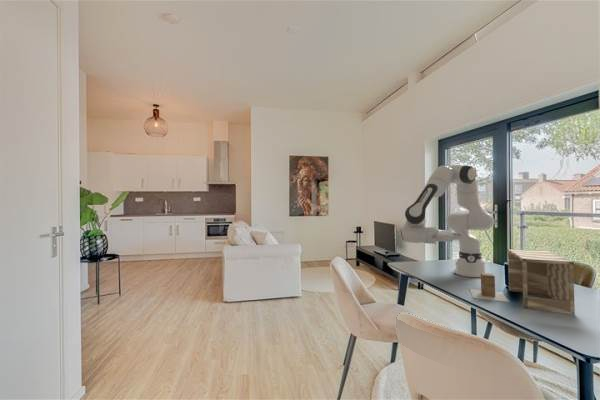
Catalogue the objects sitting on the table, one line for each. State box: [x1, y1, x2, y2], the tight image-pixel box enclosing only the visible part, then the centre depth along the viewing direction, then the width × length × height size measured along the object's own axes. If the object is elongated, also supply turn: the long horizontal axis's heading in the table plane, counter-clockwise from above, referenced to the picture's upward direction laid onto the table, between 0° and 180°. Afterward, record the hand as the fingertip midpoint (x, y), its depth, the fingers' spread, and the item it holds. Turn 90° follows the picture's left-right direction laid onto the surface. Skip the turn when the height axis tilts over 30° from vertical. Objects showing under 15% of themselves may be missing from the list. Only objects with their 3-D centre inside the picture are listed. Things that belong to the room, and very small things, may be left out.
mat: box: [469, 288, 510, 303], centre depth 135 cm, size 14×14×1 cm
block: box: [480, 272, 496, 297], centre depth 135 cm, size 5×5×10 cm
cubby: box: [507, 248, 576, 315], centre depth 127 cm, size 26×16×21 cm, turn 154°
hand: (461, 236), depth 144 cm, fingers open, 8 cm apart
